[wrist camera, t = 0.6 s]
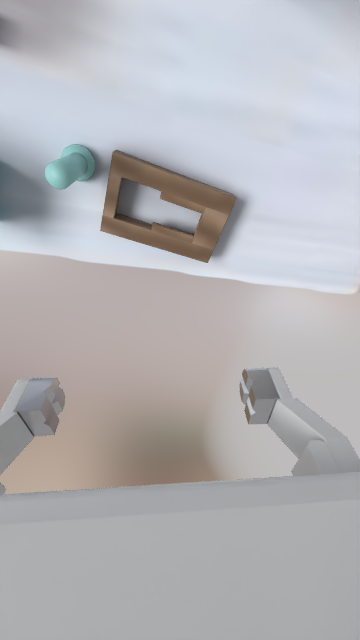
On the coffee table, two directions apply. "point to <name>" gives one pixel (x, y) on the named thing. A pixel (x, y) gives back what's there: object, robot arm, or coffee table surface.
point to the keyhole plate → (174, 190)
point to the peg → (70, 167)
